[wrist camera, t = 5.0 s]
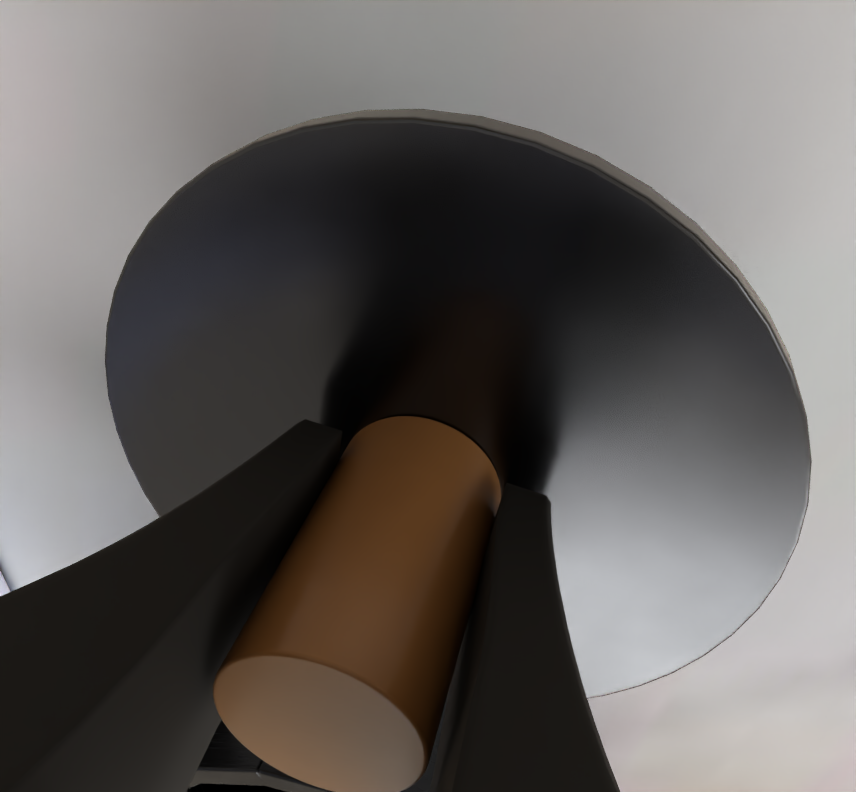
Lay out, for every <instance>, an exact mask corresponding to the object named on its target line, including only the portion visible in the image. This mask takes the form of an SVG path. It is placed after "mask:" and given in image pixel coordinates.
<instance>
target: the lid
mask: <svg viewBox="0 0 856 792" xmlns="http://www.w3.org/2000/svg"><path fill="white" fill-rule="evenodd" d="M105 367H106V377H107V387H108V396H109V401H110V405H111V409H112V413H113V417H114V421H115V426H116V430H117V433H118V435H119V438H120V441H121V443H122V446H123V449H124V451H125V454H126V457H127V459H128V462H129V464H130V466H131V468H132V470H133V472H134V474H135V476H136V478H137V480H138V482H139V484H140V486H141V488H142V490H143V492H144V493H145V495H146V497H147V498H148V500H149V501H150V503H151V504H152V506H153V507H154V509H155V510H156V512H157V514H158V515H159V517H161V516H163V515H164V514H166V513H168V512H169V511H171V510H173V509H174V508H176V507H178V506H179V505H181V504H183V503H184V502H186V501H188V500H189V499H191V498H192V497H194V496H196V495H197V494H199V493H200V492H202V491H203V490H205V489H206V488H208V487H209V486H211V485H212V484H214V483H215V482H217V481H218V480H219V479H221V478H222V477H224V476H225V475H227V474H228V473H230V472H231V471H233V470H234V469H236V468H237V467H239V466H240V465H241V464H243V463H244V462H246V461H247V460H248V459H250V458H251V457H253V456H254V455H255V454H257V453H258V452H260V451H261V450H262V449H264V448H265V447H266V446H268V445H269V444H270V443H272V442H273V441H274V440H276V439H277V438H278V437H280V436H281V435H282V434H284V433H285V432H286V431H288V430H289V429H290V428H292V427H293V426H294V425H296V424H297V423H298V422H300V421H303V420H305V419H307V420H310V421H313V422H316V423H319V424H322V425H326V426H329V427H332V428H335V429H338V430H341V431H342V439H341V446H340V453H339V460H338V464H337V465H336V467H335V469H334V471H333V472H332V474H331V476H330V477H329V479H328V481H327V483H326V484H325V486H324V488H323V490H322V491H321V493H320V495H319V497H318V498H317V500H316V502H315V503H314V505H313V507H312V509H311V510H310V512H309V514H308V516H307V517H306V519H305V521H304V522H303V524H302V526H301V528H300V529H299V531H298V533H297V535H296V536H295V538H294V540H293V542H292V543H291V545H290V547H289V548H288V550H287V552H286V554H285V555H284V557H283V559H282V561H281V562H280V564H279V566H278V567H277V569H276V571H275V573H274V574H273V576H272V578H271V580H270V581H269V583H268V585H267V587H266V588H265V590H264V592H263V593H262V595H261V597H260V599H259V600H258V602H257V604H256V606H255V607H254V609H253V611H252V613H251V614H250V616H249V618H248V619H247V621H246V623H245V625H244V626H243V628H242V630H241V632H240V633H239V635H238V637H237V638H236V640H235V642H234V644H233V645H232V647H231V649H230V651H229V652H228V654H227V656H226V658H225V659H224V661H223V663H222V664H221V666H220V668H219V670H218V672H217V673H216V675H215V679H214V683H213V698H214V704H215V706H216V709H217V711H218V713H219V715H220V717H221V719H222V721H223V722H224V724H225V725H226V726H227V728H228V729H229V730H230V732H231V733H232V734H233V735H234V736H235V737H236V738H237V739H238V740H239V741H240V742H241V743H242V744H243V745H244V746H245V747H246V748H247V749H249V750H250V751H251V752H252V753H254V754H255V755H256V756H258V757H259V758H260V759H262V760H263V761H265V762H266V763H268V764H269V765H271V766H273V767H274V768H276V769H278V770H280V771H282V772H283V773H285V774H287V775H289V776H291V777H294V778H296V779H298V780H300V781H303V782H305V783H308V784H311V785H313V786H316V787H319V788H323V789H326V790H330V791H334V792H400V791H402V790H405V789H407V788H409V787H411V786H412V785H414V784H415V783H416V782H417V781H418V780H419V779H420V778H421V777H422V776H423V774H424V773H425V771H426V769H427V767H428V764H429V760H430V757H431V753H432V750H433V746H434V742H435V739H436V735H437V731H438V728H439V724H440V721H441V717H442V713H443V710H444V706H445V702H446V699H447V696H448V692H449V688H450V684H451V681H452V677H453V673H454V670H455V666H456V662H457V659H458V655H459V652H460V648H461V644H462V641H463V637H464V633H465V630H466V626H467V623H468V619H469V615H470V612H471V608H472V604H473V601H474V597H475V594H476V590H477V585H478V580H479V576H480V571H481V567H482V563H483V559H484V556H485V552H486V548H487V545H488V541H489V538H490V534H491V530H492V527H493V523H494V520H495V516H496V513H497V510H498V507H499V504H500V501H501V498H502V495H503V492H504V489H505V486H506V483H509V484H512V485H515V486H519V487H522V488H525V489H528V490H531V491H534V492H538V493H541V494H544V495H547V497H548V499H549V500H550V502H551V522H552V537H553V546H554V554H555V561H556V568H557V575H558V581H559V586H560V592H561V597H562V601H563V606H564V611H565V616H566V621H567V626H568V630H569V634H570V638H571V642H572V647H573V651H574V654H575V658H576V662H577V665H578V669H579V673H580V676H581V680H582V683H583V687H584V690H585V693H586V697H587V698H592V697H598V696H605V695H608V694H612V693H616V692H619V691H623V690H627V689H631V688H634V687H638V686H641V685H643V684H646V683H648V682H651V681H654V680H656V679H659V678H661V677H664V676H666V675H669V674H671V673H673V672H675V671H677V670H679V669H681V668H683V667H684V666H686V665H688V664H690V663H692V662H694V661H695V660H697V659H699V658H701V657H703V656H704V655H706V654H707V653H708V652H710V651H711V650H713V649H714V648H715V647H717V646H718V645H719V644H721V643H722V642H723V641H725V640H726V639H727V638H729V637H730V636H731V635H733V634H734V633H735V632H736V631H737V630H738V629H739V628H740V627H741V626H742V625H743V624H744V623H745V622H746V621H747V620H748V619H749V618H750V617H751V616H752V615H753V614H754V613H755V612H756V611H757V610H758V609H759V608H760V606H761V605H762V603H763V602H764V601H765V599H766V598H767V596H768V595H769V594H770V592H771V591H772V589H773V588H774V587H775V585H776V584H777V582H778V581H779V580H780V578H781V576H782V574H783V572H784V570H785V568H786V566H787V564H788V562H789V559H790V557H791V555H792V553H793V551H794V549H795V547H796V545H797V543H798V540H799V536H800V532H801V529H802V525H803V521H804V517H805V514H806V510H807V506H808V501H809V488H810V475H811V462H812V461H811V451H810V442H809V433H808V424H807V416H806V412H805V408H804V404H803V400H802V397H801V393H800V390H799V386H798V383H797V380H796V376H795V373H794V369H793V366H792V363H791V359H790V356H789V353H788V351H787V349H786V347H785V345H784V343H783V341H782V339H781V337H780V335H779V333H778V331H777V329H776V327H775V324H774V322H773V320H772V318H771V316H770V314H769V312H768V310H767V308H766V307H765V306H764V304H763V303H762V301H761V300H760V298H759V297H758V295H757V294H756V293H755V291H754V290H753V288H752V287H751V285H750V284H749V283H748V281H747V280H746V278H745V277H744V275H743V274H742V273H741V271H740V270H739V268H738V267H737V265H736V264H735V263H734V262H733V261H732V260H731V259H730V258H729V257H728V256H727V255H726V254H725V253H724V252H723V251H722V250H721V248H720V247H719V246H718V245H717V244H716V243H715V242H714V241H713V240H712V239H711V238H710V237H709V236H708V235H707V234H706V233H705V232H704V231H703V230H702V228H701V227H700V226H699V225H698V224H697V223H696V222H694V221H693V220H692V219H691V218H689V217H688V216H687V215H685V214H684V213H683V212H682V211H680V210H679V209H678V208H677V207H675V206H674V205H673V204H671V203H670V202H669V201H668V200H666V199H665V198H664V197H663V196H661V195H660V194H659V193H658V192H656V191H655V190H654V189H652V188H651V187H650V186H648V185H647V184H645V183H643V182H641V181H640V180H638V179H636V178H635V177H633V176H631V175H630V174H628V173H626V172H624V171H623V170H621V169H619V168H618V167H616V166H614V165H612V164H611V163H609V162H607V161H606V160H604V159H602V158H600V157H599V156H597V155H595V154H592V153H590V152H588V151H585V150H583V149H580V148H578V147H576V146H573V145H571V144H568V143H566V142H563V141H561V140H559V139H556V138H554V137H551V136H549V135H547V134H544V133H542V132H539V131H535V130H532V129H528V128H524V127H520V126H516V125H513V124H509V123H505V122H501V121H498V120H494V119H490V118H486V117H483V116H476V115H468V114H460V113H451V112H443V111H435V110H427V109H394V110H363V111H357V112H351V113H345V114H340V115H334V116H328V117H322V118H316V119H312V120H309V121H306V122H303V123H300V124H297V125H294V126H291V127H288V128H285V129H282V130H279V131H276V132H273V133H270V134H267V135H265V136H263V137H261V138H259V139H257V140H255V141H253V142H251V143H249V144H247V145H246V146H244V147H242V148H240V149H238V150H236V151H234V152H232V153H230V154H228V155H227V156H225V157H223V158H221V159H220V160H218V161H216V162H215V163H213V164H211V165H210V166H209V167H208V168H206V169H205V170H204V171H202V172H201V173H200V174H198V175H197V176H196V177H195V178H193V179H192V180H191V181H189V182H188V183H187V184H185V185H184V186H183V187H182V188H180V189H179V190H178V191H177V192H176V193H175V194H174V195H173V196H172V197H171V198H170V199H169V200H168V201H167V203H166V204H165V205H164V206H163V207H162V208H161V209H160V210H159V211H158V212H157V214H156V215H155V216H154V217H153V218H152V219H151V220H150V221H149V223H148V224H147V226H146V227H145V229H144V231H143V232H142V234H141V236H140V237H139V239H138V240H137V242H136V244H135V245H134V247H133V248H132V250H131V252H130V253H129V255H128V257H127V260H126V262H125V265H124V267H123V270H122V272H121V275H120V277H119V280H118V282H117V285H116V287H115V290H114V294H113V299H112V304H111V308H110V313H109V318H108V322H107V330H106V351H105Z"/></svg>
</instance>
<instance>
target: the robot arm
mask: <svg viewBox="0 0 856 792" xmlns="http://www.w3.org/2000/svg"><path fill="white" fill-rule="evenodd" d="M341 439H342V431H341V430H338V429H335V428H332V427H329V426H326V425H322V424H319V423H316V422H313V421H310V420H307V419H305V420H303V421H300V422H298V423H297V424H296V425H294V426H293V427H292V428H290V429H289V430H288V431H286V432H285V433H284V434H282V435H281V436H280V437H278V438H277V439H276V440H274V441H273V442H272V443H270V444H269V445H268V446H266V447H265V448H264V449H262V450H261V451H260V452H258V453H257V454H255V455H254V456H253V457H251V458H250V459H248V460H247V461H246V462H244V463H243V464H241V465H240V466H239V467H237V468H236V469H234V470H233V471H231V472H230V473H228V474H227V475H225V476H224V477H222V478H221V479H219V480H218V481H217V482H215V483H214V484H212V485H211V486H209V487H208V488H206V489H205V490H203V491H202V492H200V493H199V494H197V495H196V496H194V497H192V498H191V499H189V500H188V501H186V502H184V503H183V504H181V505H179V506H178V507H176V508H174V509H173V510H171V511H169V512H168V513H166V514H164V515H163V516H161V517H159V518H158V519H156V520H154V521H153V522H151V523H150V524H148V525H146V526H144V527H143V528H141V529H139V530H137V531H136V532H134V533H132V534H130V535H128V536H127V537H125V538H123V539H121V540H119V541H117V542H115V543H114V544H112V545H110V546H108V547H106V548H104V549H102V550H100V551H98V552H96V553H94V554H92V555H90V556H88V557H86V558H84V559H82V560H80V561H78V562H76V563H74V564H72V565H70V566H68V567H66V568H63V569H61V570H59V571H57V572H54V573H52V574H50V575H48V576H46V577H43V578H41V579H39V580H37V581H35V582H32V583H30V584H28V585H26V586H24V587H21V588H19V589H16V590H14V591H12V592H11V591H10V589H9V587H8V585H7V583H6V581H5V579H4V577H3V575H2V573H1V571H0V792H186V791H187V789H188V787H189V785H190V783H191V781H192V779H193V777H194V775H195V773H196V771H197V769H198V767H199V764H200V762H201V760H202V758H203V756H204V754H205V752H206V750H207V748H208V746H209V744H210V742H211V739H212V737H213V735H214V733H215V731H216V729H217V727H218V725H219V724H220V722H221V720H222V719H221V717H220V715H219V713H218V711H217V709H216V706H215V704H214V698H213V683H214V679H215V675H216V673H217V672H218V670H219V668H220V666H221V664H222V663H223V661H224V659H225V658H226V656H227V654H228V652H229V651H230V649H231V647H232V645H233V644H234V642H235V640H236V638H237V637H238V635H239V633H240V632H241V630H242V628H243V626H244V625H245V623H246V621H247V619H248V618H249V616H250V614H251V613H252V611H253V609H254V607H255V606H256V604H257V602H258V600H259V599H260V597H261V595H262V593H263V592H264V590H265V588H266V587H267V585H268V583H269V581H270V580H271V578H272V576H273V574H274V573H275V571H276V569H277V567H278V566H279V564H280V562H281V561H282V559H283V557H284V555H285V554H286V552H287V550H288V548H289V547H290V545H291V543H292V542H293V540H294V538H295V536H296V535H297V533H298V531H299V529H300V528H301V526H302V524H303V522H304V521H305V519H306V517H307V516H308V514H309V512H310V510H311V509H312V507H313V505H314V503H315V502H316V500H317V498H318V497H319V495H320V493H321V491H322V490H323V488H324V486H325V484H326V483H327V481H328V479H329V477H330V476H331V474H332V472H333V471H334V469H335V467H336V465H337V464H338V460H339V453H340V446H341ZM429 792H620V790H619V787H618V785H617V782H616V780H615V777H614V774H613V772H612V769H611V767H610V764H609V761H608V759H607V756H606V753H605V751H604V748H603V745H602V742H601V739H600V736H599V733H598V731H597V728H596V725H595V722H594V719H593V716H592V713H591V710H590V706H589V703H588V700H587V697H586V693H585V690H584V687H583V683H582V680H581V676H580V673H579V669H578V665H577V662H576V658H575V654H574V651H573V647H572V642H571V638H570V634H569V630H568V626H567V621H566V616H565V611H564V606H563V601H562V597H561V592H560V586H559V581H558V575H557V568H556V561H555V554H554V546H553V537H552V522H551V502H550V500H549V499H548V497H547V495H544V494H541V493H538V492H534V491H531V490H528V489H525V488H522V487H519V486H515V485H512V484H509V483H506V486H505V489H504V492H503V495H502V498H501V501H500V504H499V507H498V510H497V513H496V516H495V520H494V523H493V527H492V530H491V534H490V538H489V541H488V545H487V548H486V552H485V556H484V559H483V563H482V567H481V571H480V576H479V580H478V585H477V590H476V594H475V597H474V601H473V604H472V608H471V612H470V615H469V619H468V623H467V626H466V630H465V633H464V637H463V641H462V644H461V648H460V652H459V655H458V659H457V662H456V666H455V670H454V673H453V677H452V681H451V684H450V688H449V692H448V698H447V703H446V708H445V714H444V719H443V725H442V730H441V735H440V741H439V746H438V752H437V757H436V762H435V768H434V773H433V778H432V782H431V787H430V791H429Z"/></svg>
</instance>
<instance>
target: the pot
mask: <svg viewBox="0 0 856 792" xmlns="http://www.w3.org/2000/svg"><path fill="white" fill-rule="evenodd" d="M447 698H448V696H447ZM446 703H447V699H446V702H445V706H444V710H443V713H442V717H441V721H440V724H439V728H438V731H437V735H436V739H435V742H434V746H433V750H432V753H431V757H430V760H429V764H428V767H427V769H426V771H425V773H424V774H423V776H422V777H421V778H420V779H419V780H418V781H417V782H416V783H415V784H414V785H412V786H411V787H409V788H407V789H405V790H402V791H400V792H429V791H430V787H431V782H432V778H433V773H434V768H435V762H436V757H437V752H438V746H439V741H440V735H441V730H442V725H443V719H444V714H445V708H446ZM186 792H334V791H330V790H326V789H323V788H319V787H316V786H313V785H311V784H308V783H305V782H303V781H300V780H298V779H296V778H294V777H291V776H289V775H287V774H285V773H283V772H282V771H280V770H278V769H276V768H274V767H273V766H271V765H269V764H268V763H266V762H265V761H263V760H262V759H260V758H259V757H258V756H256V755H255V754H254V753H252V752H251V751H250V750H249V749H247V748H246V747H245V746H244V745H243V744H242V743H241V742H240V741H239V740H238V739H237V738H236V737H235V736H234V735H233V734H232V733H231V732H230V730H229V729H228V728H227V726H226V725H225V724H224V722H223V721H222V720H221V722H220V724H219V725H218V727H217V729H216V731H215V733H214V735H213V737H212V739H211V742H210V744H209V746H208V748H207V750H206V752H205V754H204V756H203V758H202V760H201V762H200V764H199V767H198V769H197V771H196V773H195V775H194V777H193V779H192V781H191V783H190V785H189V787H188V789H187V791H186Z"/></svg>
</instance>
